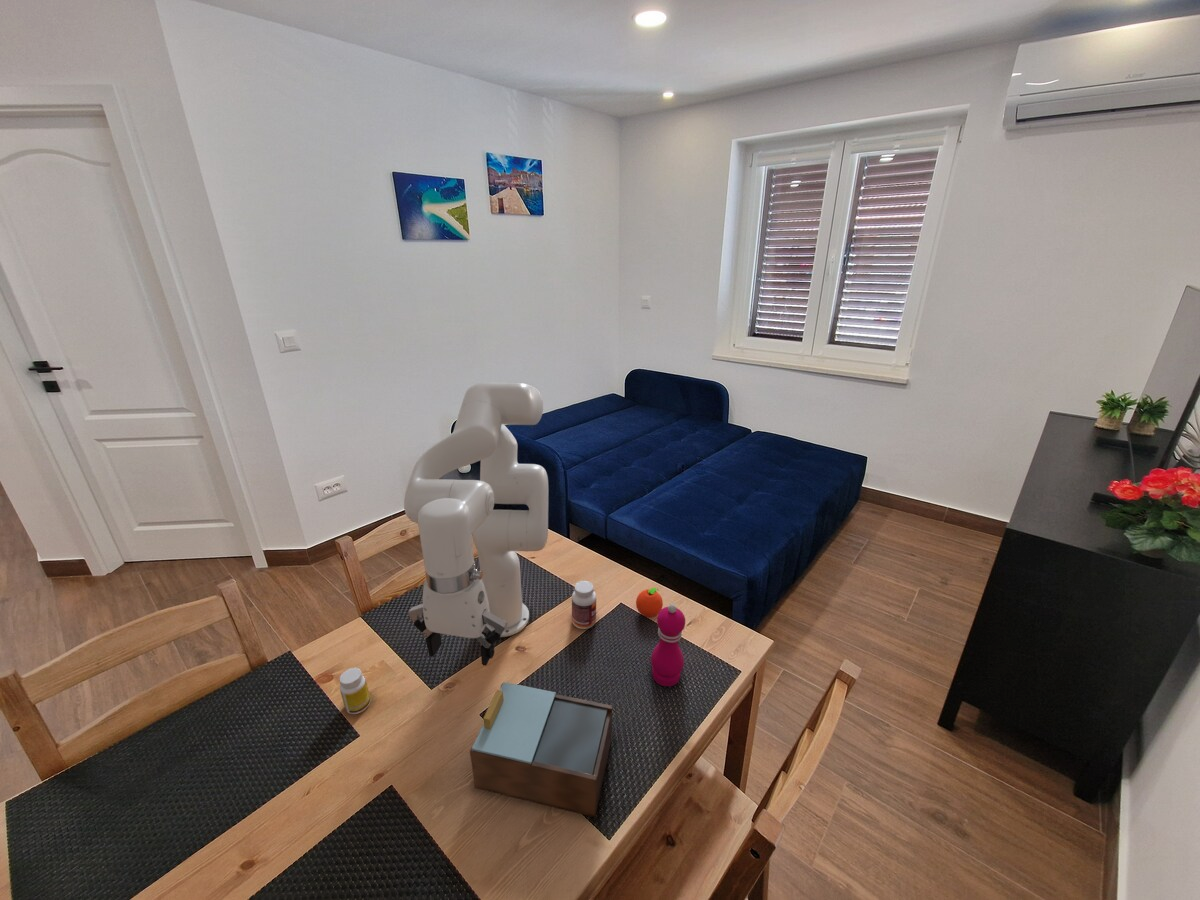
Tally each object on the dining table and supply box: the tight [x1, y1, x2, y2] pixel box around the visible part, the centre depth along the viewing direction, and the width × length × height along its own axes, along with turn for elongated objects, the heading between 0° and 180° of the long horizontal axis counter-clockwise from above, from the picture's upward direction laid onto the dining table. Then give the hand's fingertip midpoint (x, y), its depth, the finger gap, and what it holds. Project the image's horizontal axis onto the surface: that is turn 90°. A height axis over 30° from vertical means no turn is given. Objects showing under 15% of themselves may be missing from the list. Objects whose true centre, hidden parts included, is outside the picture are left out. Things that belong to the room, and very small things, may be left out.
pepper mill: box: [650, 603, 686, 687], centre depth 105 cm, size 7×7×20 cm
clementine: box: [635, 587, 664, 618], centre depth 126 cm, size 8×7×7 cm
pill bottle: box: [571, 580, 597, 630], centre depth 121 cm, size 6×6×11 cm
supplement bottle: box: [339, 667, 371, 715], centre depth 99 cm, size 5×5×8 cm
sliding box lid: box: [471, 681, 557, 764], centre depth 87 cm, size 11×14×3 cm
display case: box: [469, 682, 613, 818], centre depth 88 cm, size 22×14×10 cm, turn 78°
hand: (461, 654), depth 84 cm, fingers open, 9 cm apart
